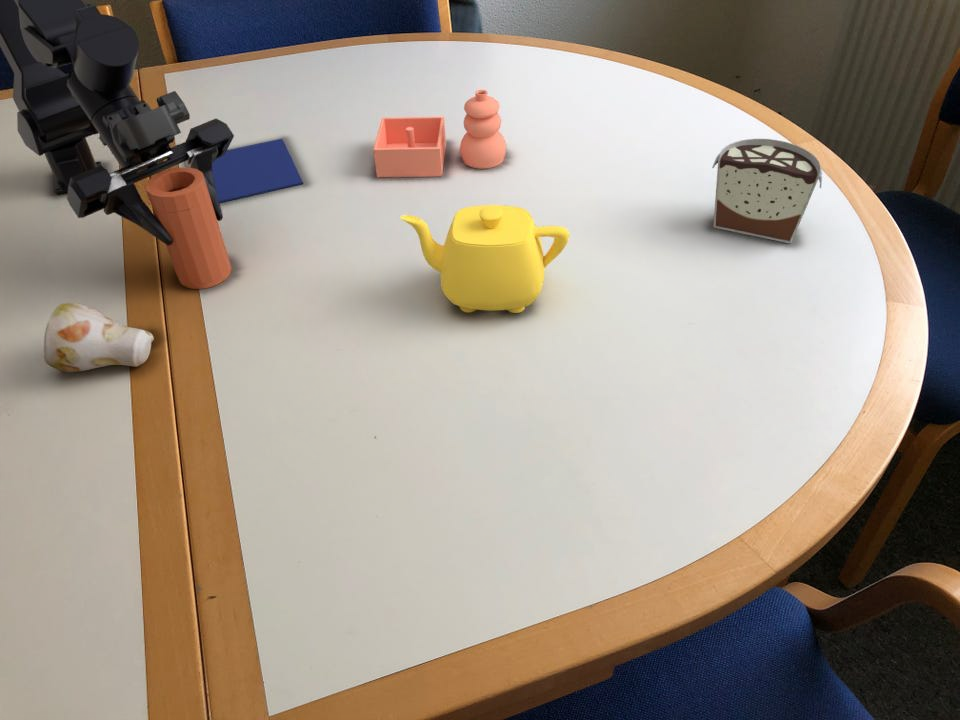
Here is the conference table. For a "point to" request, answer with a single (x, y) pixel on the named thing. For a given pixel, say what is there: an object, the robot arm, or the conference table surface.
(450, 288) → the teapot
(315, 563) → the conference table surface
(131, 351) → the fruit patterned vase
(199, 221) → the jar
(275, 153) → the napkin
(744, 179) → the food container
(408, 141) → the pottery
